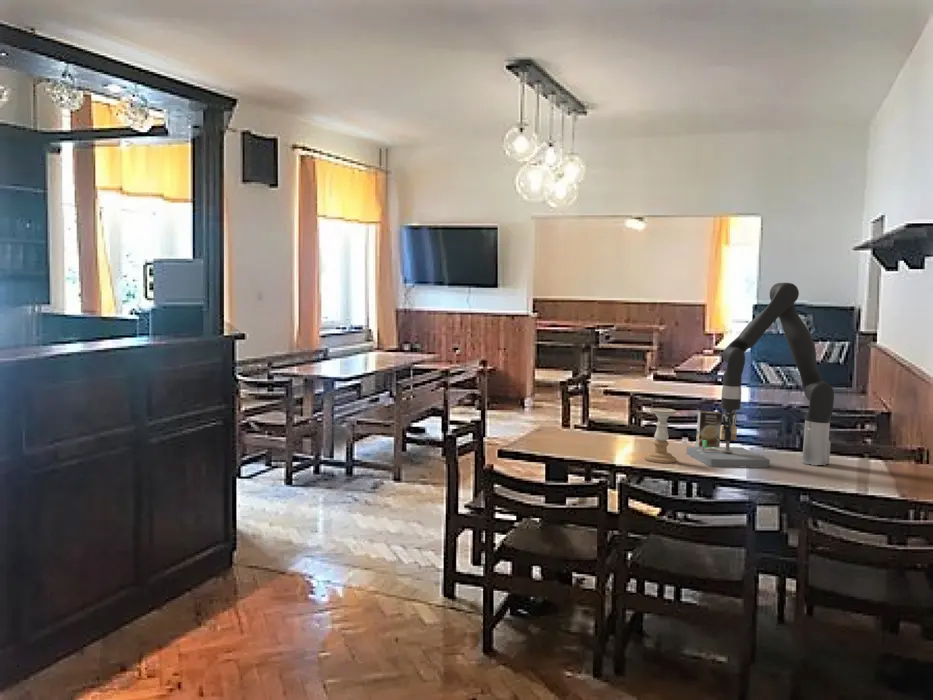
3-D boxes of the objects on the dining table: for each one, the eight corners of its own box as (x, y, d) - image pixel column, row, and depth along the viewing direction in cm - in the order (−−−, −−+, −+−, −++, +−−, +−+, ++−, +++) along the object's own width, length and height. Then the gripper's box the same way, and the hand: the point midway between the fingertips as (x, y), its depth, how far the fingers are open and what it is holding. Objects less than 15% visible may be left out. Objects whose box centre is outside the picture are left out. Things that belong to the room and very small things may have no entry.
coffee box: (697, 449, 367) (700, 412, 366) (695, 447, 374) (697, 410, 372) (719, 451, 366) (722, 413, 365) (717, 448, 373) (719, 411, 371)
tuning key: (733, 451, 348) (735, 425, 348) (736, 453, 344) (737, 427, 344) (700, 449, 349) (702, 423, 348) (703, 451, 345) (704, 425, 344)
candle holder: (652, 463, 335) (655, 412, 334) (639, 457, 347) (641, 407, 346) (681, 463, 338) (684, 412, 337) (667, 456, 350) (670, 407, 349)
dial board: (741, 454, 360) (742, 440, 360) (769, 467, 337) (770, 452, 336) (686, 454, 357) (687, 439, 356) (711, 466, 333) (711, 451, 333)
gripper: (736, 399, 337) (734, 443, 338) (744, 396, 349) (742, 438, 350) (717, 397, 341) (715, 441, 342) (726, 394, 353) (723, 436, 354)
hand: (728, 439), depth 346 cm, fingers closed on tuning key, 3 cm apart
